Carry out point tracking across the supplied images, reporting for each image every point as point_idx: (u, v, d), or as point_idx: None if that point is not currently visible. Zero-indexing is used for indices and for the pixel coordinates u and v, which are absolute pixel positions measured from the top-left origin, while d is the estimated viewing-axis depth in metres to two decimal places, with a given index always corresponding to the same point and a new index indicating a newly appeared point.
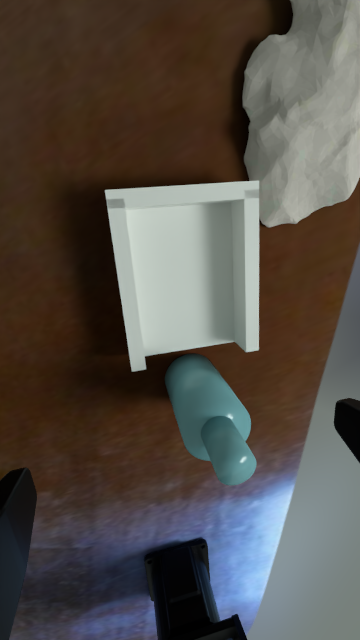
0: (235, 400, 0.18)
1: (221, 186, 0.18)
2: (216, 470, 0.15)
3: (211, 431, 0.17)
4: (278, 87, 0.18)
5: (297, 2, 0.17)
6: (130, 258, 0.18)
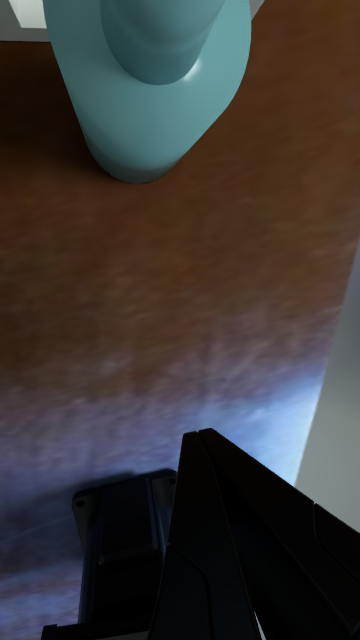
0: None
1: None
2: None
3: None
4: None
5: None
6: None
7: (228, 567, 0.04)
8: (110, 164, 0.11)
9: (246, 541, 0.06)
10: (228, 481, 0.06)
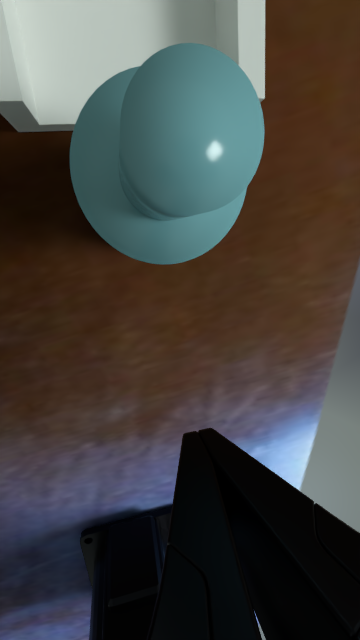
0: None
1: None
2: (121, 132, 0.04)
3: None
4: None
5: None
6: None
7: (228, 567, 0.04)
8: None
9: (246, 541, 0.06)
10: (228, 481, 0.06)
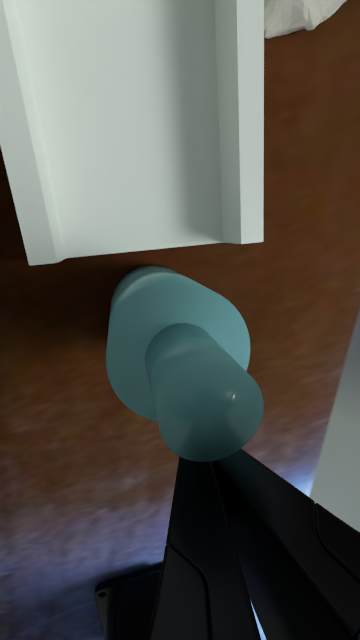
0: (217, 294, 0.09)
1: None
2: (159, 420, 0.06)
3: (160, 346, 0.07)
4: None
5: None
6: (0, 5, 0.09)
7: (227, 567, 0.04)
8: None
9: (247, 541, 0.06)
10: (229, 481, 0.06)
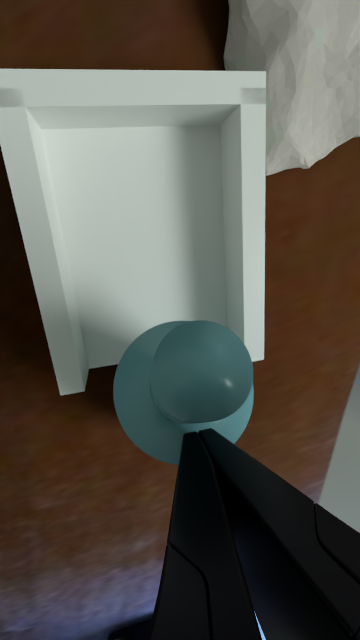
0: None
1: (200, 77, 0.10)
2: (153, 373, 0.06)
3: None
4: None
5: None
6: (42, 203, 0.10)
7: (228, 567, 0.04)
8: None
9: (246, 541, 0.06)
10: (228, 481, 0.06)
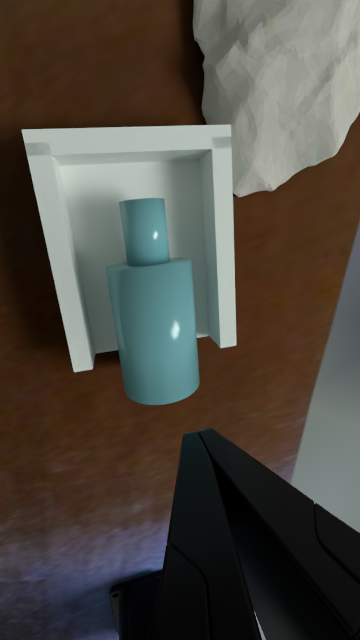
0: None
1: (181, 130, 0.14)
2: (119, 204, 0.14)
3: None
4: (236, 6, 0.14)
5: None
6: (63, 224, 0.14)
7: (228, 567, 0.04)
8: (137, 360, 0.14)
9: (246, 541, 0.06)
10: (228, 481, 0.06)
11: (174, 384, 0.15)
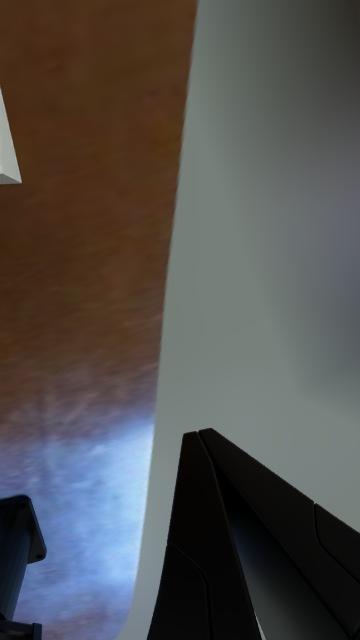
0: None
1: None
2: None
3: None
4: None
5: None
6: None
7: (228, 567, 0.04)
8: None
9: (246, 541, 0.06)
10: (228, 481, 0.06)
11: None
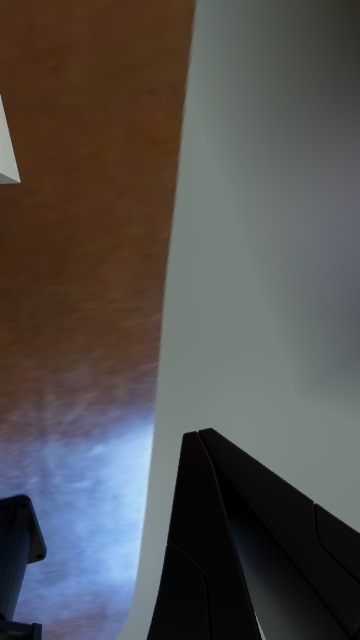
0: None
1: None
2: None
3: None
4: None
5: None
6: None
7: (228, 567, 0.04)
8: None
9: (246, 541, 0.06)
10: (228, 481, 0.06)
11: None
